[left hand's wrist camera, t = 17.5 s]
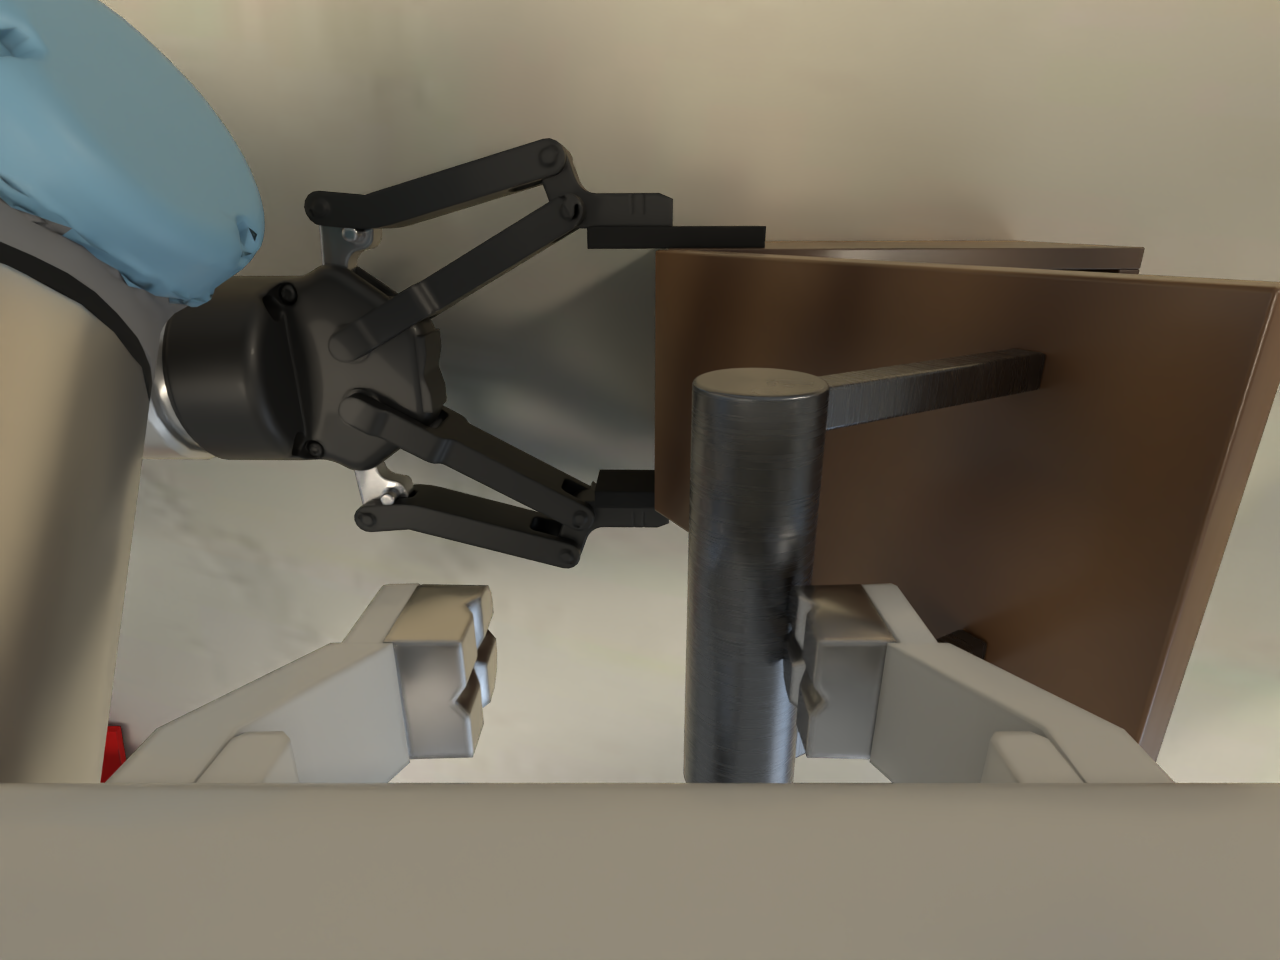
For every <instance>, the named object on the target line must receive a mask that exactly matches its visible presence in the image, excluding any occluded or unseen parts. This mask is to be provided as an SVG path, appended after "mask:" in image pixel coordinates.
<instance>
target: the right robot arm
mask: <svg viewBox="0 0 1280 960" xmlns="http://www.w3.org/2000/svg"><path fill="white" fill-rule="evenodd" d="M540 185H543V186H544V189H545V191H546V194H547V196H548V199H549V202H548V203H547V204H545V205H544V206H542V207H540V208H539V209H537V210H535V211H534V212H532V213H531V214H529V215H527V216H526V217H524V218H523V219H521V220H519V221H518V222H516V223H514V224H513V225H511V226H510V227H508V228H506V229H505V230H503V231H502V232H500V233H498V234H497V235H495V236H494V237H492V238H490V239H489V240H487V241H485V242H484V243H482V244H481V245H479V246H477V247H476V248H474V249H473V250H471V251H469V252H468V253H466V254H464V255H463V256H461V257H460V258H458V259H456V260H455V261H453V262H452V263H450V264H448V265H447V266H445V267H444V268H442V269H440V270H439V271H437V272H435V273H434V274H432V275H431V276H429V277H427V278H426V279H424V280H422V281H421V282H419V283H416V284H414V285H413V286H411V287H409V288H407V289H405V290H404V291H402V292H401V293H399V294H398V293H396V292H395V291H393V290H392V289H390V288H389V287H387V286H386V285H384V284H383V283H382V282H380V281H379V280H377V279H376V278H374V277H373V276H371V275H370V274H369V273H367V272H366V271H364V270H363V269H361V268H360V267H358V266H357V259H358V257H359V255H360V254H361V253H362V252H363V251H365V250H369V249H373V248H375V247H377V246H378V245H379V244H380V242H381V240H382V229H383V228H398V227H404V226H408V225H412V224H416V223H419V222H422V221H425V220H429V219H432V218H435V217H438V216H442V215H445V214H448V213H452V212H455V211H458V210H461V209H465V208H468V207H471V206H474V205H478V204H481V203H484V202H487V201H491V200H494V199H497V198H501V197H504V196H507V195H510V194H514V193H517V192H520V191H523V190H527V189H530V188H533V187H537V186H540ZM304 208H305V211H306V214H307V216H308V217H309V219H310V220H311V221H312V222H314V223H315V224H317V225H319V228H320V241H321V253H322V266H319V267H317V268H316V269H315V270H313V271H312V272H310V273H308V274H306V275H304V276H233V275H235V274H236V273H237V272H239V271H240V270H242V269H243V268H244V267H245V266H246V265H247V264H248V263H249V262H250V261H251V260H252V258H253V257H254V255H255V254H256V252H257V251H258V250H259V249H260V247H261V245H262V241H263V236H264V231H265V222H264V210H263V205H262V201H261V197H260V194H259V191H258V188H257V185H256V182H255V180H254V177H253V175H252V172H251V170H250V168H249V166H248V164H247V162H246V160H245V158H244V156H243V154H242V153H241V151H240V149H239V147H238V146H237V144H236V142H235V141H234V139H233V138H232V136H231V134H230V133H229V131H228V130H227V128H226V127H225V126H224V124H223V123H222V121H221V120H220V119H219V117H218V116H217V114H216V113H215V112H214V110H213V109H212V108H211V106H210V105H209V104H208V102H207V101H206V100H205V98H204V97H203V96H202V95H201V94H200V93H199V91H198V90H197V89H196V88H195V87H194V86H193V85H192V83H191V82H190V81H189V80H188V79H187V78H186V77H185V76H184V75H183V74H182V73H181V72H180V71H179V70H178V69H177V68H176V67H175V66H174V65H173V64H172V63H171V62H170V60H168V59H167V58H166V57H165V56H164V55H163V54H162V53H161V52H160V51H159V50H158V49H157V48H156V47H155V46H154V45H153V44H152V43H151V42H150V41H149V40H147V39H146V38H145V37H144V36H143V35H142V34H141V33H140V32H139V31H137V30H136V29H135V28H134V27H133V26H132V25H130V24H129V23H128V22H127V21H126V20H125V19H123V18H122V17H121V16H119V15H118V14H117V13H115V12H114V11H113V10H111V9H110V8H109V7H107V6H106V5H105V4H103V3H102V2H100V1H99V0H0V783H100V781H101V773H102V766H103V758H104V750H105V742H106V735H107V727H108V719H109V712H110V704H111V696H112V689H113V681H114V673H115V666H116V658H117V650H118V643H119V635H120V627H121V620H122V612H123V604H124V597H125V589H126V581H127V574H128V566H129V558H130V551H131V543H132V535H133V527H134V520H135V512H136V504H137V497H138V489H139V481H140V474H141V466H142V459H184V460H208V459H211V458H214V457H219V458H222V459H228V460H316V459H325V460H330V461H333V462H336V463H339V464H341V465H343V466H345V467H347V468H349V469H352V470H355V475H356V479H357V483H358V487H359V491H360V495H361V499H362V504H363V505H362V506H361V507H360V508H359V509H358V510H357V511H356V513H355V515H354V518H355V522H356V524H357V526H358V527H359V528H360V529H362V530H364V531H367V532H378V531H392V530H407V529H409V530H413V531H417V532H421V533H425V534H429V535H433V536H437V537H441V538H445V539H449V540H453V541H457V542H461V543H465V544H469V545H473V546H477V547H481V548H485V549H489V550H493V551H497V552H501V553H505V554H509V555H513V556H517V557H521V558H525V559H529V560H533V561H537V562H541V563H545V564H549V565H553V566H557V567H561V568H572V567H574V566H575V565H577V564H578V562H579V560H580V556H581V553H582V550H583V547H584V545H585V542H586V539H587V537H588V535H589V534H590V532H591V531H593V530H594V529H596V528H599V527H660V526H662V525H665V524H668V523H669V519H668V518H666V517H665V516H663V515H662V514H660V513H659V512H657V511H655V470H600V471H599V475H598V479H597V483H595V482H594V481H593V482H592V484H591V486H589V485H587V484H585V483H583V482H581V481H579V480H578V479H576V478H574V477H572V476H570V475H568V474H566V473H564V472H562V471H560V470H558V469H556V468H554V467H552V466H550V465H548V464H547V463H545V462H543V461H541V460H539V459H537V458H535V457H533V456H531V455H529V454H527V453H525V452H523V451H521V450H519V449H517V448H516V447H514V446H512V445H510V444H508V443H506V442H504V441H502V440H500V439H498V438H496V437H494V436H492V435H490V434H488V433H486V432H484V431H483V430H481V429H479V428H477V427H475V426H473V425H471V424H470V423H468V421H467V420H466V418H465V417H463V416H462V415H460V414H458V413H456V412H455V411H453V410H451V409H449V408H447V407H445V406H443V404H444V403H445V402H446V401H447V397H446V388H445V382H444V379H443V377H442V374H441V371H440V369H439V358H440V352H441V340H440V330H439V329H435V328H434V325H433V323H432V322H431V320H430V319H432V318H433V317H435V316H437V315H438V314H440V313H442V312H443V311H445V310H447V309H448V308H450V307H451V306H453V305H455V304H456V303H457V302H459V301H460V300H462V299H464V298H465V297H467V296H469V295H470V294H472V293H474V292H475V291H477V290H479V289H480V288H482V287H483V286H485V285H487V284H488V283H490V282H492V281H493V280H495V279H497V278H498V277H500V276H502V275H503V274H505V273H507V272H508V271H510V270H512V269H513V268H515V267H517V266H518V265H520V264H521V263H523V262H525V261H526V260H528V259H530V258H531V257H533V256H535V255H536V254H538V253H540V252H541V251H543V250H545V249H546V248H548V247H550V246H551V245H553V244H554V243H556V242H558V241H559V240H561V239H563V238H564V237H566V236H568V235H569V234H571V233H573V232H574V231H576V230H578V229H579V228H587V243H588V249H666V248H765V234H766V226H672V222H673V199H672V198H669V197H667V196H665V195H662V194H660V193H590V192H589V191H587V190H586V189H585V188H584V187H583V186H582V184H581V182H580V180H579V178H578V175H577V172H576V169H575V167H574V164H573V159H572V156H571V154H570V152H569V151H568V150H567V149H566V148H565V147H564V146H562V145H561V144H560V143H558V142H557V141H556V140H553V139H550V138H548V139H541V140H538V141H535V142H532V143H528V144H525V145H522V146H519V147H516V148H512V149H509V150H506V151H503V152H500V153H497V154H493V155H490V156H487V157H484V158H481V159H477V160H474V161H471V162H468V163H465V164H462V165H458V166H455V167H452V168H449V169H446V170H442V171H439V172H436V173H433V174H430V175H427V176H423V177H420V178H417V179H414V180H411V181H407V182H404V183H401V184H398V185H395V186H392V187H388V188H385V189H382V190H379V191H376V192H372V193H369V194H366V195H361V194H349V193H338V192H326V191H315V192H312V193H311V194H309V195H308V196H307V198H306V200H305V206H304ZM400 448H401V449H403V450H405V451H407V452H409V453H411V454H413V455H415V456H417V457H419V458H421V459H423V460H425V461H427V462H430V463H434V464H437V463H440V464H444V465H446V466H448V467H450V468H452V469H454V470H456V471H458V472H460V473H462V474H464V475H466V476H468V477H470V478H472V479H474V480H476V481H478V482H480V483H482V484H484V485H486V486H488V487H490V488H492V489H494V490H496V491H498V492H500V493H502V494H504V495H506V496H508V497H510V498H512V499H514V500H516V501H518V502H520V503H522V504H524V505H526V506H528V507H530V508H532V509H534V510H536V511H538V512H536V511H532V510H528V509H524V508H520V507H516V506H512V505H508V504H505V503H501V502H497V501H493V500H489V499H485V498H481V497H477V496H473V495H469V494H465V493H462V492H458V491H454V490H450V489H446V488H442V487H437V486H432V485H423V484H413V483H412V479H411V477H409V476H407V475H402V474H397V473H394V472H392V471H390V470H389V469H388V468H387V466H386V465H385V462H384V461H385V460H386V459H387V458H389V457H390V456H391V455H393V454H394V453H395V452H396V451H398V450H399V449H400Z"/></svg>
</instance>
